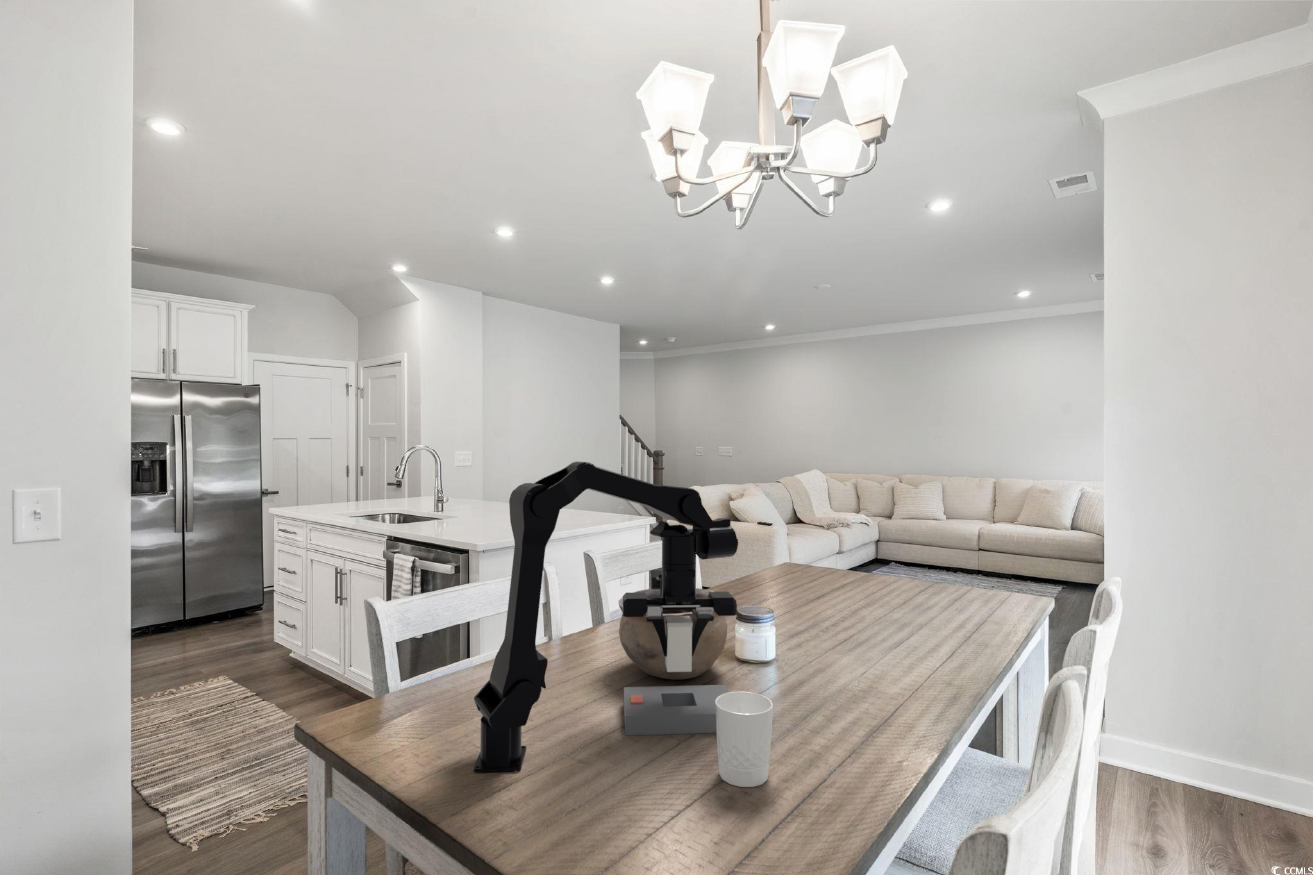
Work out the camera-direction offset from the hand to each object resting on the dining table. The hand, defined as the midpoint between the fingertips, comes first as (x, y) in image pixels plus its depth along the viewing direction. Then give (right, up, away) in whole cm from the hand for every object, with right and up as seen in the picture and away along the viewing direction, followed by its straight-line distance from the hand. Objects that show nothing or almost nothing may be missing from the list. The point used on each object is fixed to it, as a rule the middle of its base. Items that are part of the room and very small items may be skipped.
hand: (678, 655), depth 107 cm
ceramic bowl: (0, -11, +21) cm, 24 cm away
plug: (0, -2, 0) cm, 2 cm away
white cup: (+8, -10, -19) cm, 23 cm away
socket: (0, -10, 0) cm, 10 cm away
